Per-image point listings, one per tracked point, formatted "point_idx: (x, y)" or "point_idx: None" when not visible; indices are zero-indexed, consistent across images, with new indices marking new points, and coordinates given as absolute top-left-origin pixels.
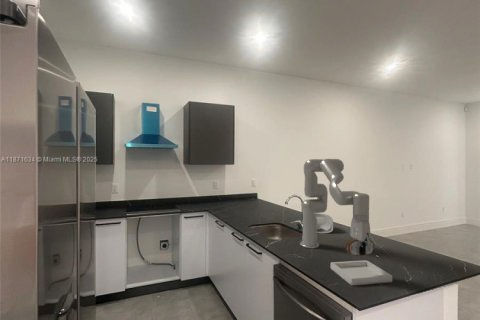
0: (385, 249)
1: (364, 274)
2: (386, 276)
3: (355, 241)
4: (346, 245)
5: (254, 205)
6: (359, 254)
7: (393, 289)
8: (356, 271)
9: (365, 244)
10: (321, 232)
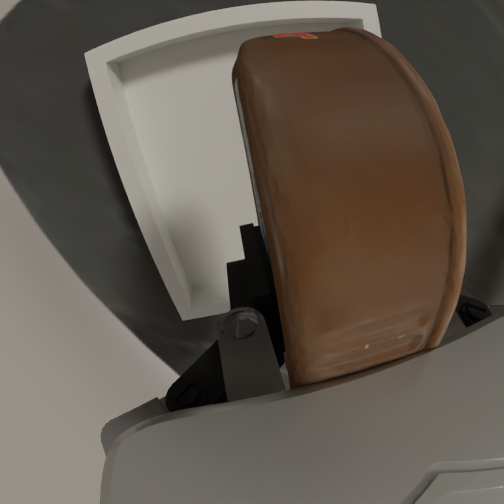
0: None
1: (244, 189)
2: (170, 292)
3: (279, 301)
4: (340, 31)
5: None
6: (261, 221)
7: (109, 269)
8: None
9: (170, 400)
10: None
